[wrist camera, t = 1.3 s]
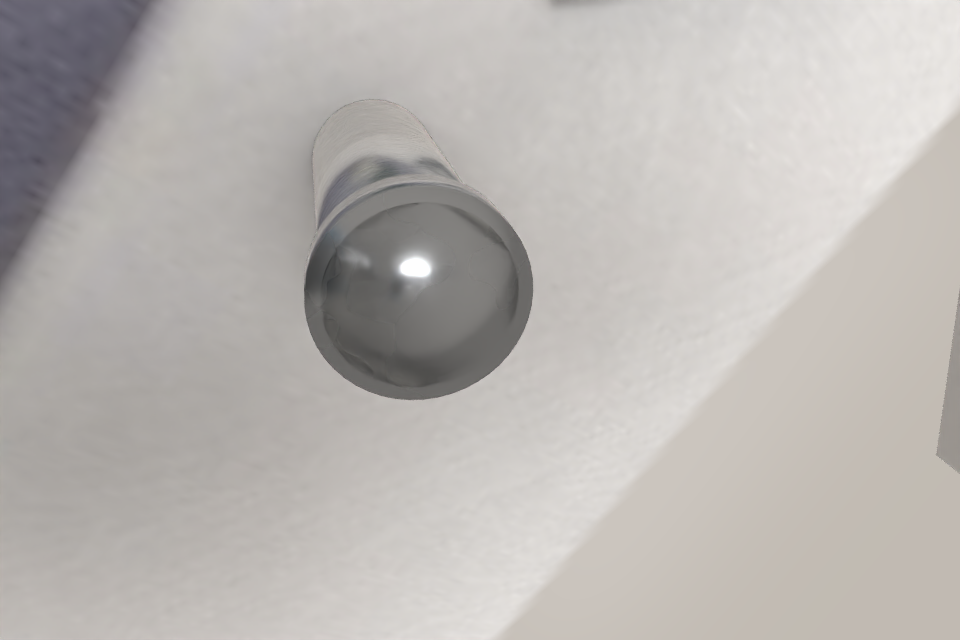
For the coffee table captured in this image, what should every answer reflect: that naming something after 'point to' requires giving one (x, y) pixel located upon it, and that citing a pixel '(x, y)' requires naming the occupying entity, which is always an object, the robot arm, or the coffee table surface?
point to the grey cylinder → (407, 261)
